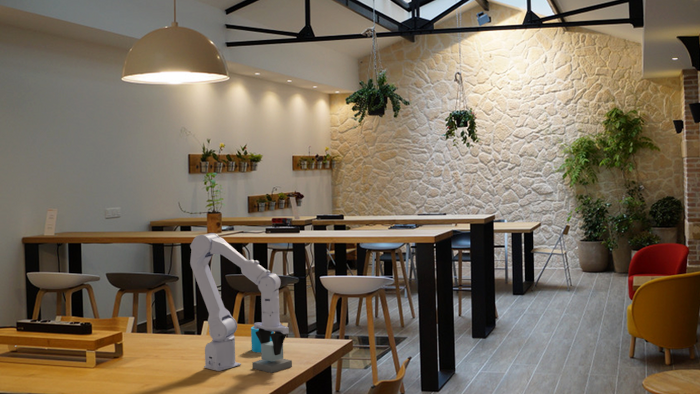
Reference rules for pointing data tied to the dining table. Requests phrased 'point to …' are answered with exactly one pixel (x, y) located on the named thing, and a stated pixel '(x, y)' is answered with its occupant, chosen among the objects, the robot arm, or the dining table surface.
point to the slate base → (272, 365)
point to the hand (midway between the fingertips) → (271, 353)
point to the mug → (256, 340)
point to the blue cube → (270, 352)
